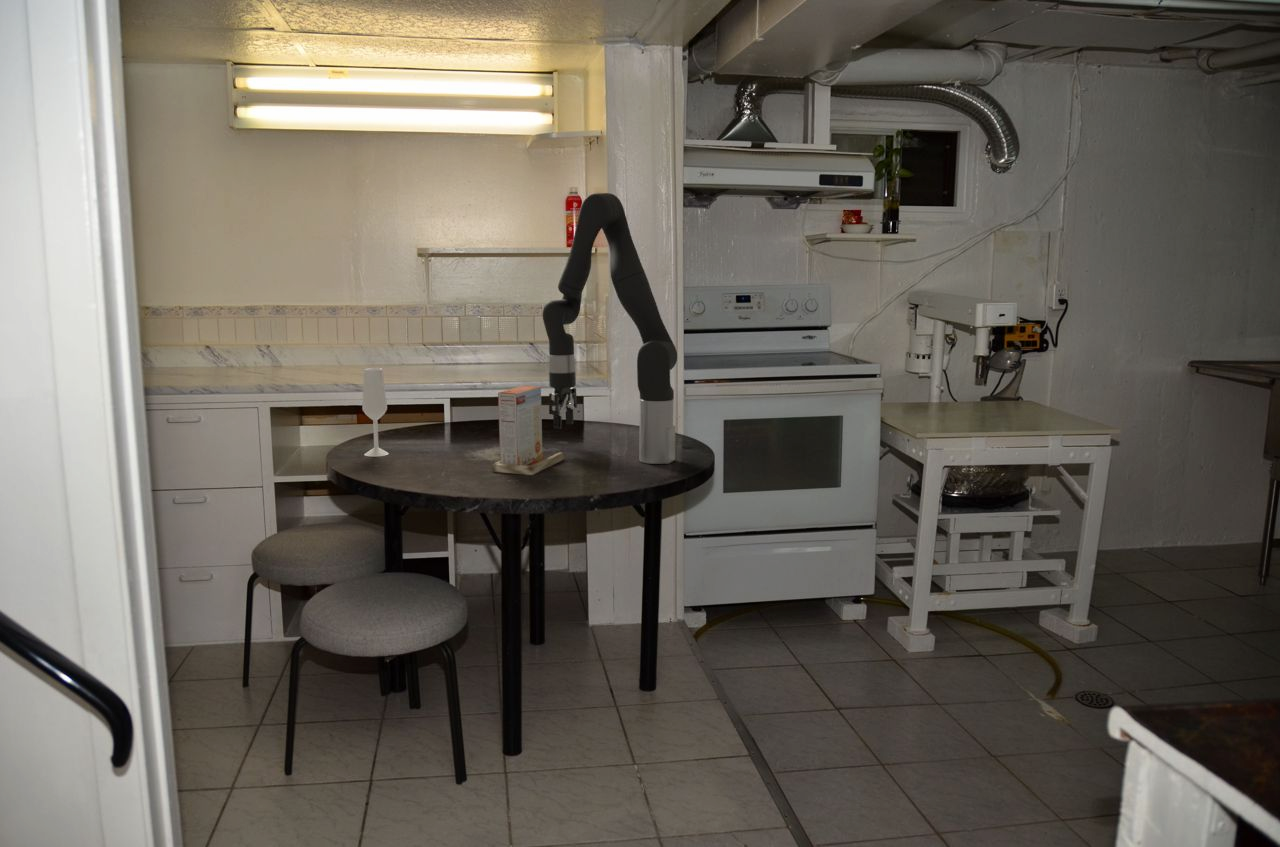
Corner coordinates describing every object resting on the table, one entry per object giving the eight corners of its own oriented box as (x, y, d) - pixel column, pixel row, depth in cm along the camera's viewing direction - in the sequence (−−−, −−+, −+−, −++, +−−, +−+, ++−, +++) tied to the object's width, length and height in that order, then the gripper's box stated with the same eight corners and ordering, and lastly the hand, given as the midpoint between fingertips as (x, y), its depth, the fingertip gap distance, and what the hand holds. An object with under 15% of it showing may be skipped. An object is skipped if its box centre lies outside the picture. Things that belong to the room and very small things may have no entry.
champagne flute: (382, 457, 272) (379, 370, 268) (359, 455, 273) (356, 370, 269) (393, 452, 279) (390, 368, 274) (371, 451, 280) (367, 367, 276)
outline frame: (563, 459, 271) (563, 452, 270) (532, 475, 252) (532, 467, 252) (525, 456, 274) (525, 449, 274) (492, 471, 256) (492, 463, 255)
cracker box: (523, 460, 270) (522, 384, 266) (543, 462, 268) (542, 386, 264) (498, 470, 257) (497, 391, 253) (518, 472, 255) (517, 392, 251)
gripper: (564, 373, 272) (565, 431, 275) (584, 367, 286) (585, 422, 288) (539, 372, 275) (541, 430, 278) (560, 367, 288) (561, 421, 291)
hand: (563, 426), depth 283 cm, fingers open, 8 cm apart
